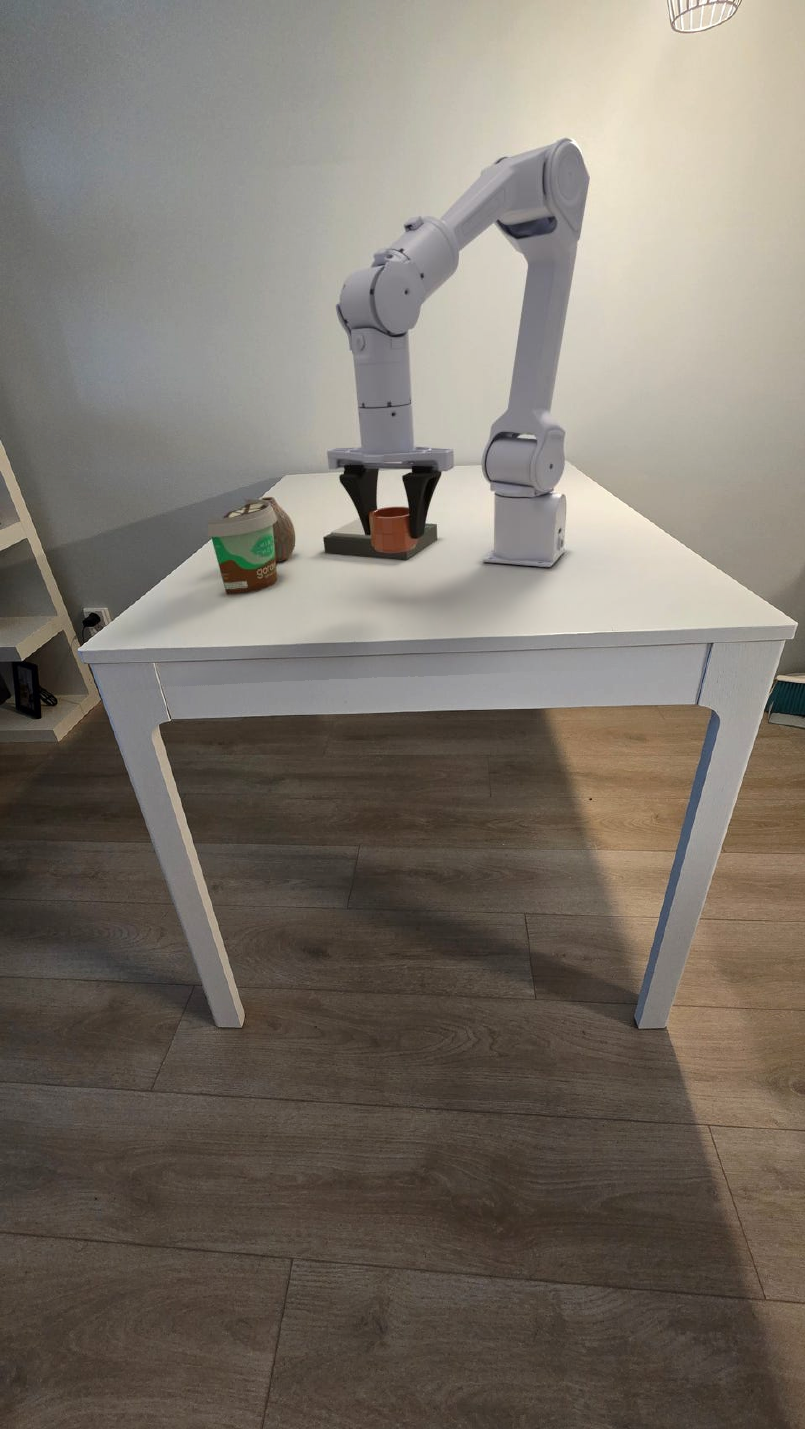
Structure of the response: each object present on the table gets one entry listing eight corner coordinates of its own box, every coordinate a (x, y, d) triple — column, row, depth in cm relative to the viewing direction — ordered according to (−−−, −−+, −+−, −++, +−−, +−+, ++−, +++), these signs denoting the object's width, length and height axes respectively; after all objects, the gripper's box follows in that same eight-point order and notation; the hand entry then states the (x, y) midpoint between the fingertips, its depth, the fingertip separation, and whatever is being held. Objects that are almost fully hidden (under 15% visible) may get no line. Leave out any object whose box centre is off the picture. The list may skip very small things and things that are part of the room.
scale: (437, 539, 101) (436, 520, 99) (407, 560, 92) (405, 539, 91) (360, 533, 106) (358, 515, 105) (324, 552, 98) (322, 533, 97)
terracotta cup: (425, 542, 76) (424, 507, 74) (405, 555, 72) (403, 519, 70) (385, 539, 78) (382, 505, 76) (363, 552, 74) (360, 517, 72)
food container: (265, 599, 82) (251, 519, 77) (221, 598, 83) (204, 520, 78) (298, 568, 92) (288, 496, 87) (258, 568, 93) (246, 497, 88)
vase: (243, 564, 96) (231, 503, 91) (268, 550, 101) (259, 493, 97) (283, 566, 93) (273, 505, 89) (306, 553, 99) (298, 494, 94)
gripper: (306, 411, 67) (322, 540, 74) (432, 408, 61) (437, 549, 68) (340, 403, 73) (352, 524, 80) (460, 400, 67) (462, 531, 74)
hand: (394, 534), depth 74 cm, fingers closed on terracotta cup, 5 cm apart
